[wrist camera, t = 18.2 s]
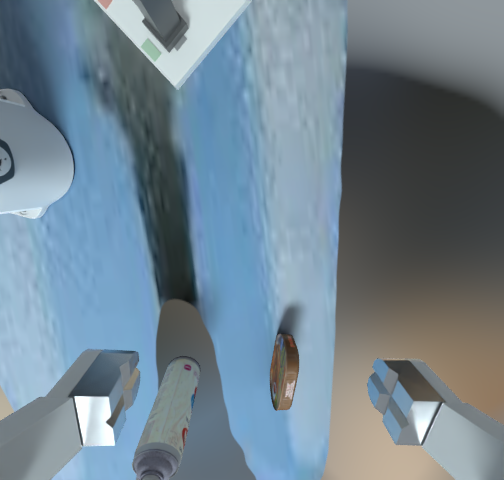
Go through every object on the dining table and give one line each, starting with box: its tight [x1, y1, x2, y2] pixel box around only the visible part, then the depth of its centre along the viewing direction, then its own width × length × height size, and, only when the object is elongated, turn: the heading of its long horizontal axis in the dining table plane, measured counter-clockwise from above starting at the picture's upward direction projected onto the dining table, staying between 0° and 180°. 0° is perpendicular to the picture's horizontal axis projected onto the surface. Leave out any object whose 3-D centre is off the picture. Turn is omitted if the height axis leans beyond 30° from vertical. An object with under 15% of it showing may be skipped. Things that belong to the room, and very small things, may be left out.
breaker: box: [134, 0, 189, 53], centre depth 26 cm, size 4×4×10 cm
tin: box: [270, 334, 299, 411], centre depth 45 cm, size 15×3×8 cm, turn 173°
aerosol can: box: [132, 356, 200, 480], centre depth 40 cm, size 7×7×20 cm
